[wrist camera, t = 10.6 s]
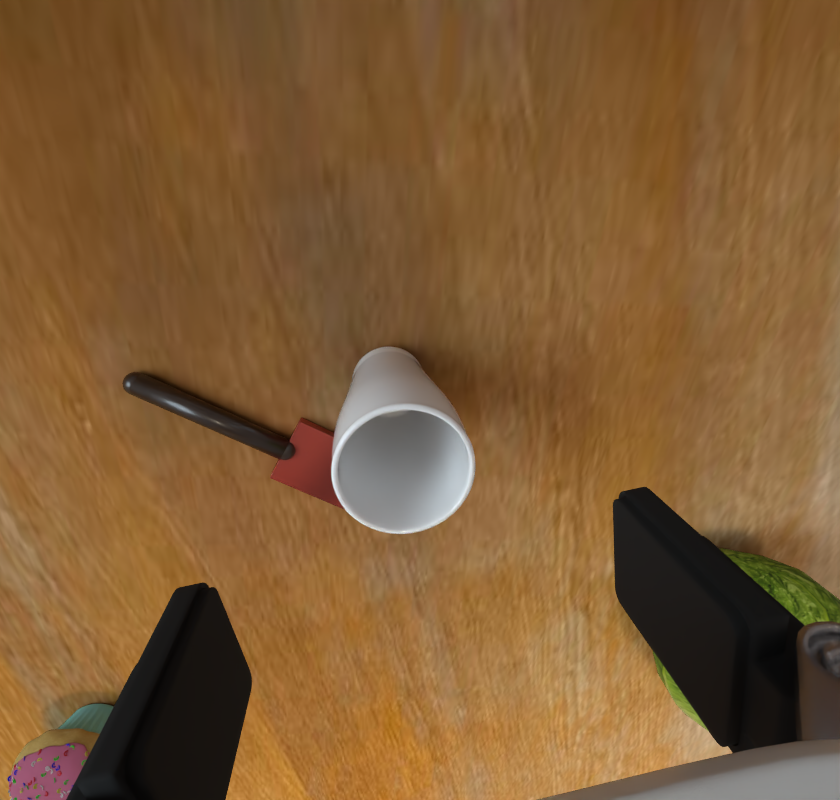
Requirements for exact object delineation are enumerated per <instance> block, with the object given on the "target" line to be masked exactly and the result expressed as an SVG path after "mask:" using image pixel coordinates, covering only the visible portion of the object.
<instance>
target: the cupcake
mask: <svg viewBox="0 0 840 800" xmlns="http://www.w3.org/2000/svg"><path fill="white" fill-rule="evenodd" d="M113 707H114V706H111V705H107V704H90V705H86V706H84V707H82V708H80V709H78V710H77V711H76V712H75V713H74V714H73V715H72V716H71V717H70V718H69V719H68V720H67V721H66V722H65V723H64V724H63V725H61V726H60V727H59V728H58V729H55V730H49V731H47V732H45V733H44V734H42V735H41V736H39V737H37V738H36V739H34V740H32V741H30V742H29V743H27V744H26V745H25V747H24V748H23V749H22V751H21V752H20V754H19V755H18V757H17V758H16V760H15V762H14V765H13V767H12V772H11V776H9V777H8V781H9V791H8V793H9V792H10V796H11V797H12V798H11V800H66V799H67V797H68V795H69V793H70V791H71V789H72V787H73V785H74V783H75V781H76V779H77V778H78V776H79V774H80V772H81V770H82V768H83V766H84V764H85V762H86V760H87V758H88V756H89V754H90V752H91V750H92V748H93V746H94V744H95V742H96V741H97V739H98V737H99V735H100V733H101V731H102V729H103V727H104V725H105V723H106V721H107V719H108V717H109V715H110V713H111V711H112V709H113ZM9 778H10V780H9Z"/></svg>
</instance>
